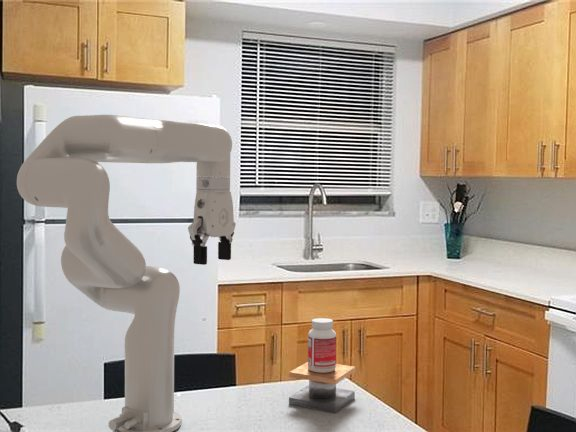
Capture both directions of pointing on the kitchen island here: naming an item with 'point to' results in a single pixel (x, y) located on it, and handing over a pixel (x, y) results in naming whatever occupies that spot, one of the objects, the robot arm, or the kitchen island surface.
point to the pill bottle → (322, 346)
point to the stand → (322, 389)
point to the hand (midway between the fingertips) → (212, 261)
